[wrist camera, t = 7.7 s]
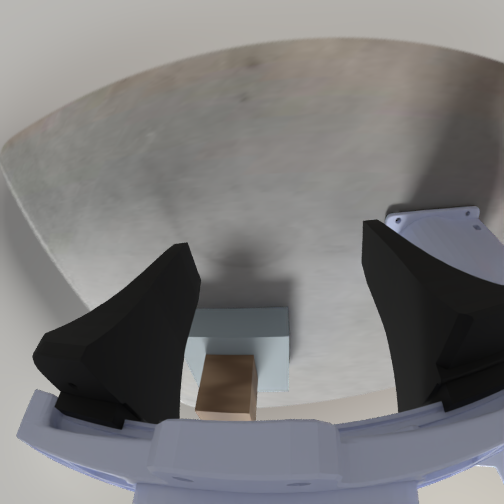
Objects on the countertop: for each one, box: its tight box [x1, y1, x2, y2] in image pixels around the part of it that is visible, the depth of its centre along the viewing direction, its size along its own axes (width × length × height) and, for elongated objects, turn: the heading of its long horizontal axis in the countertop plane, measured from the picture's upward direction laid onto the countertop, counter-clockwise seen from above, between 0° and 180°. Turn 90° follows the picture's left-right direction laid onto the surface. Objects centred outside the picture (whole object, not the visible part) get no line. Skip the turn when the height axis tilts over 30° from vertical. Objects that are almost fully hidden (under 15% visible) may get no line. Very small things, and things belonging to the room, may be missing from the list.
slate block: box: [184, 307, 289, 392], centre depth 29 cm, size 10×10×4 cm
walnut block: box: [195, 354, 258, 421], centre depth 24 cm, size 4×4×6 cm
